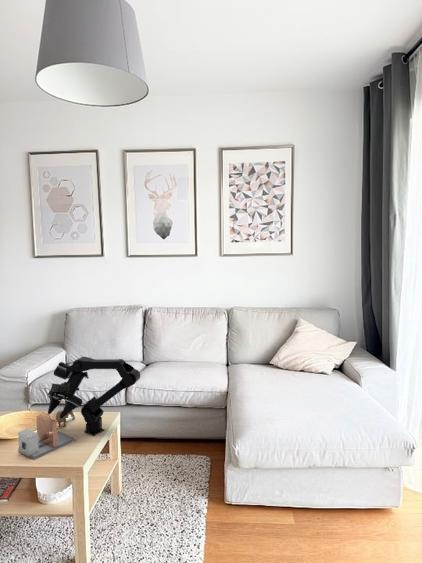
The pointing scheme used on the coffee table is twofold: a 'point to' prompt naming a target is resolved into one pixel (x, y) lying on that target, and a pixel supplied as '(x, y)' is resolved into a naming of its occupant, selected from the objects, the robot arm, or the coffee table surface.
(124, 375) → the robot arm
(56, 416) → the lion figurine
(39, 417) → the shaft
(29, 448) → the bearing block
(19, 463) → the coffee table surface
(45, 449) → the base board
